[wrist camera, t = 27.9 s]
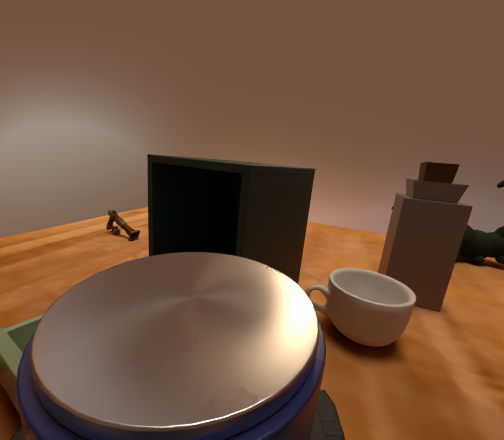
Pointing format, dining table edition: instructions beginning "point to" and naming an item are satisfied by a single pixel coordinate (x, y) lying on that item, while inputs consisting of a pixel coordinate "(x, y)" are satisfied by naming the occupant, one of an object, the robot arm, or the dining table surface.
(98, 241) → the dining table surface
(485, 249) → the toy figurine
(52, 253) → the dining table surface
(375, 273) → the teacup
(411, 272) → the perfume bottle
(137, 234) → the dark brown angled piece
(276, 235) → the cubby
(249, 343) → the navy can
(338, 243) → the dining table surface
